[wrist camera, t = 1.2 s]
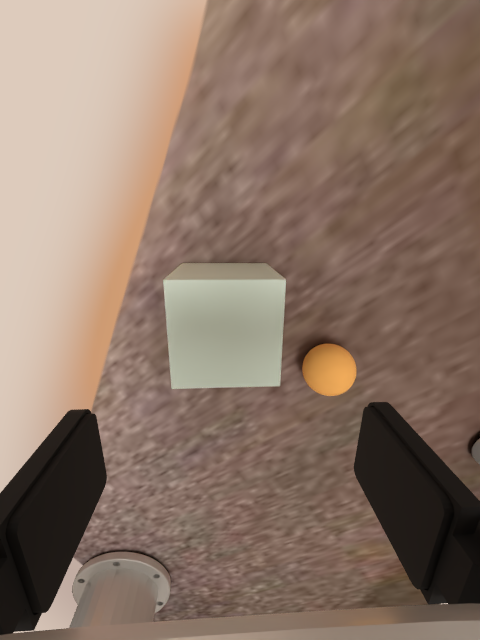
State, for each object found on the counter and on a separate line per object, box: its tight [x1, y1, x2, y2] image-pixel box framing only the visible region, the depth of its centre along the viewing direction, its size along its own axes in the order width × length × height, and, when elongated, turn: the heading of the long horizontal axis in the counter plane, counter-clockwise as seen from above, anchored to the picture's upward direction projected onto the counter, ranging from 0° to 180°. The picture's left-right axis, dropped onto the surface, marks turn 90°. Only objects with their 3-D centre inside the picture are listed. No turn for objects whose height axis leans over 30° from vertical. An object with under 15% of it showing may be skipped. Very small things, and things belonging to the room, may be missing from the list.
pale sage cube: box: [163, 263, 286, 389], centre depth 24 cm, size 8×8×9 cm
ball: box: [302, 344, 356, 396], centre depth 28 cm, size 5×5×5 cm
